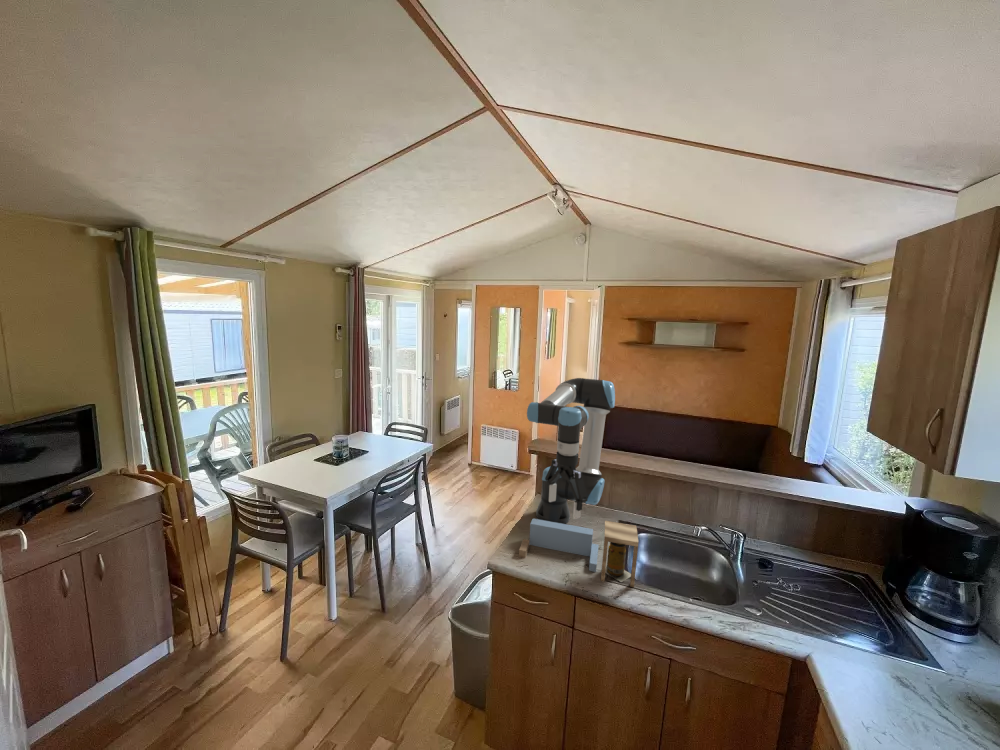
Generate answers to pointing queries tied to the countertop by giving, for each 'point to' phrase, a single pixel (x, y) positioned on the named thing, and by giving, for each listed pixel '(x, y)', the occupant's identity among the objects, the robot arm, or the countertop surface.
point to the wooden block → (524, 548)
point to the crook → (564, 539)
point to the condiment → (617, 562)
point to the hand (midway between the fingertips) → (563, 509)
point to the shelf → (622, 536)
